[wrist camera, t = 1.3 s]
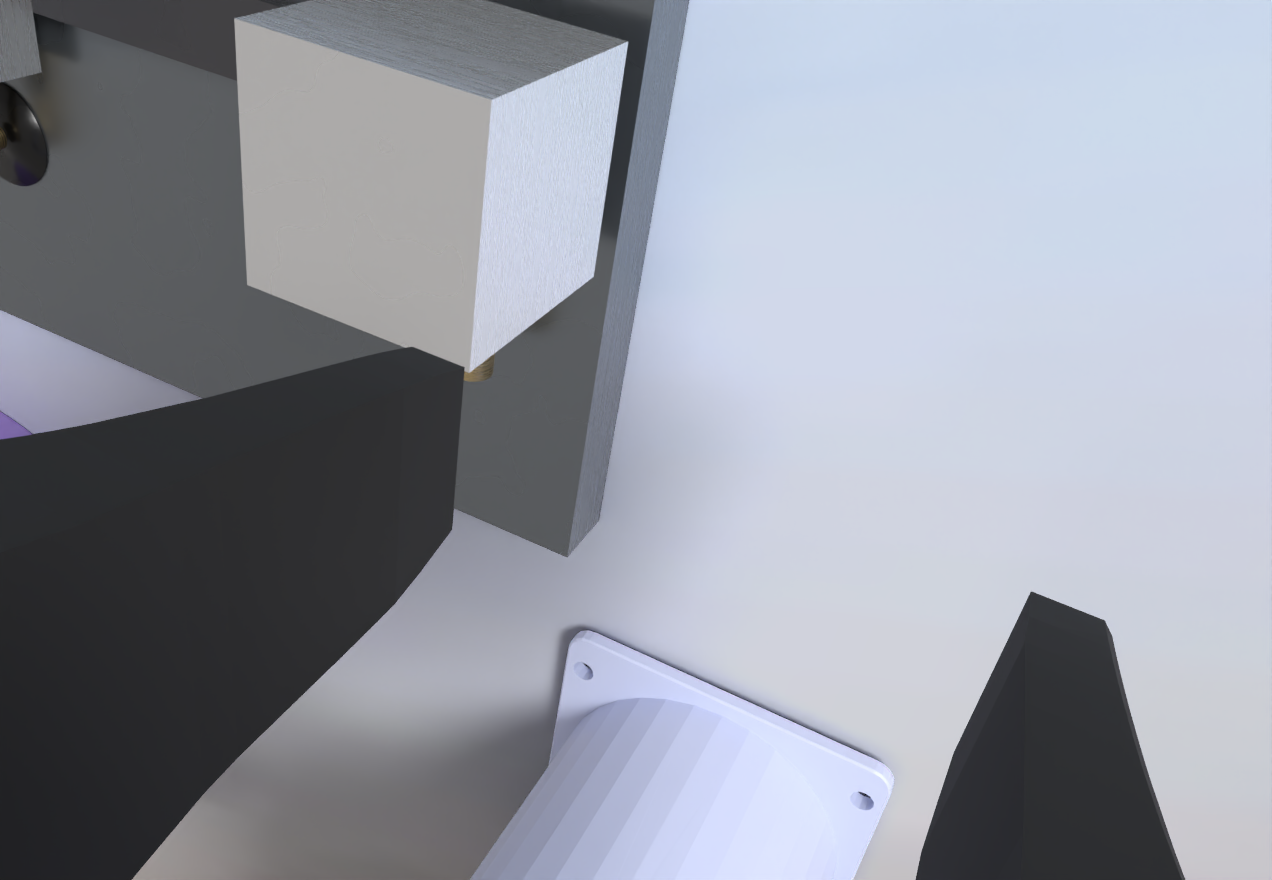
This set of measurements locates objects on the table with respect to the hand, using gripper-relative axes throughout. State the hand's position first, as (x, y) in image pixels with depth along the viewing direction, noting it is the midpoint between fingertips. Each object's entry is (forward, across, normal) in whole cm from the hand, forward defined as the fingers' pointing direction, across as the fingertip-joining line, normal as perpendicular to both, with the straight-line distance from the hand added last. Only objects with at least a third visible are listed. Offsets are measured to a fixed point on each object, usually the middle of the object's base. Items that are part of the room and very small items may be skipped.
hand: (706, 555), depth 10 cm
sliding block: (+9, +7, +1) cm, 11 cm away
